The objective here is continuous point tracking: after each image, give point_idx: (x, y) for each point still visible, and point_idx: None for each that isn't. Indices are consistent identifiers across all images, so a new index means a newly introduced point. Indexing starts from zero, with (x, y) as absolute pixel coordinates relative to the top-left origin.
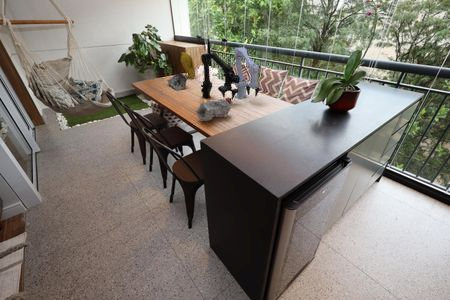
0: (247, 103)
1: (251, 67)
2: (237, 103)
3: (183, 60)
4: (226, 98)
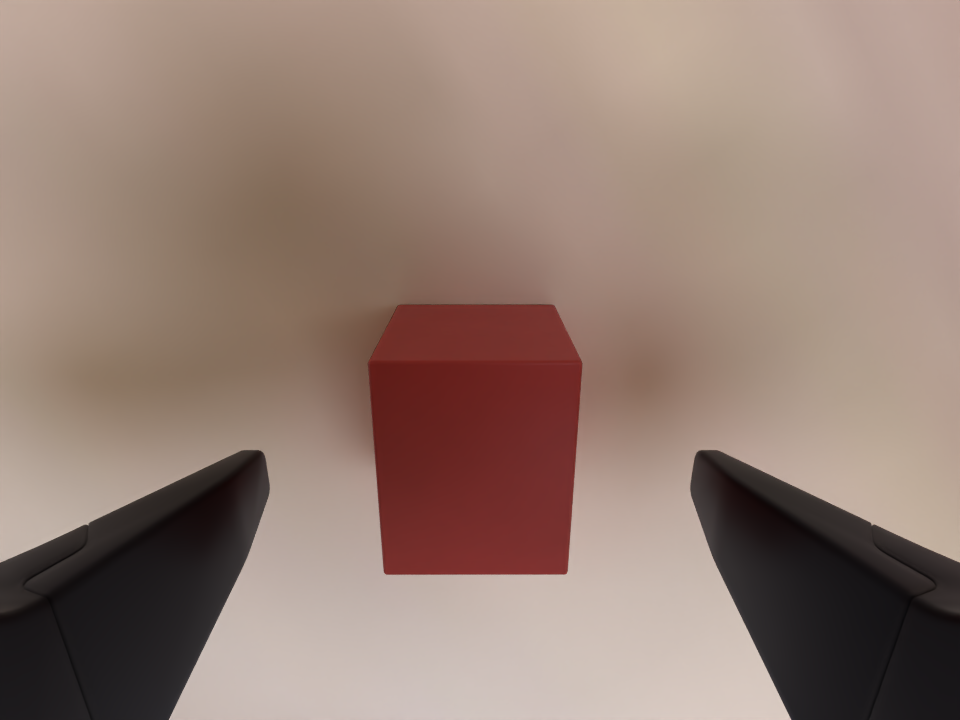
0: None
1: None
2: None
3: None
4: (546, 447)
